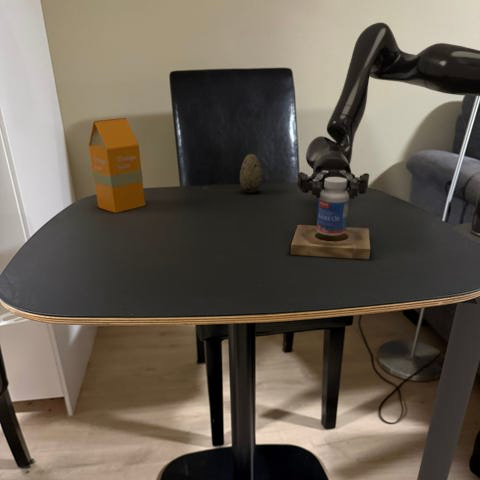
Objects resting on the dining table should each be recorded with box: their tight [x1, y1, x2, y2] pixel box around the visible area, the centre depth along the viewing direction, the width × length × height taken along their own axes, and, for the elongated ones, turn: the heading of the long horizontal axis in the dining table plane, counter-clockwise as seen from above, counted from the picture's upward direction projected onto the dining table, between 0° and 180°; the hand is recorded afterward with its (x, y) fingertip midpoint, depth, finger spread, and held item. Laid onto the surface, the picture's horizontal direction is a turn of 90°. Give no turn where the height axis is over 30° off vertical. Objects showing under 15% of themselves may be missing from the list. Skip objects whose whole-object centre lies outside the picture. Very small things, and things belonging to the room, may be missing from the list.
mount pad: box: [290, 224, 371, 260], centre depth 91 cm, size 14×12×2 cm
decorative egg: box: [239, 153, 263, 194], centre depth 127 cm, size 6×6×10 cm
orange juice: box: [88, 117, 146, 214], centre depth 114 cm, size 8×9×20 cm
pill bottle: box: [316, 177, 350, 236], centre depth 88 cm, size 6×5×10 cm
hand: (335, 192), depth 85 cm, fingers closed on pill bottle, 5 cm apart
